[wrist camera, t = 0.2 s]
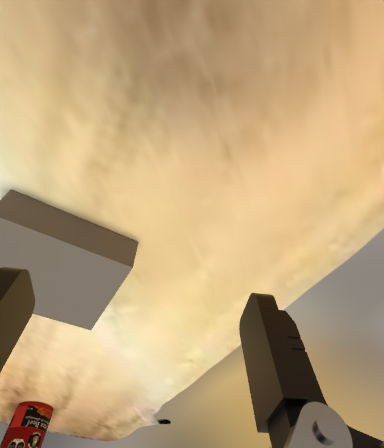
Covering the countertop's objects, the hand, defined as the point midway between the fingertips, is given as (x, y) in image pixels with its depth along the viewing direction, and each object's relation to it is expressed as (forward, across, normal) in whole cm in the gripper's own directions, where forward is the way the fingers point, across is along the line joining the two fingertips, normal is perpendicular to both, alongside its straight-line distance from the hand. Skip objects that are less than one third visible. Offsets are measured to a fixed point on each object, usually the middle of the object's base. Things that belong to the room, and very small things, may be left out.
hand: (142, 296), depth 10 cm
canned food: (+23, +23, +68) cm, 76 cm away
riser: (+19, +11, +16) cm, 28 cm away
